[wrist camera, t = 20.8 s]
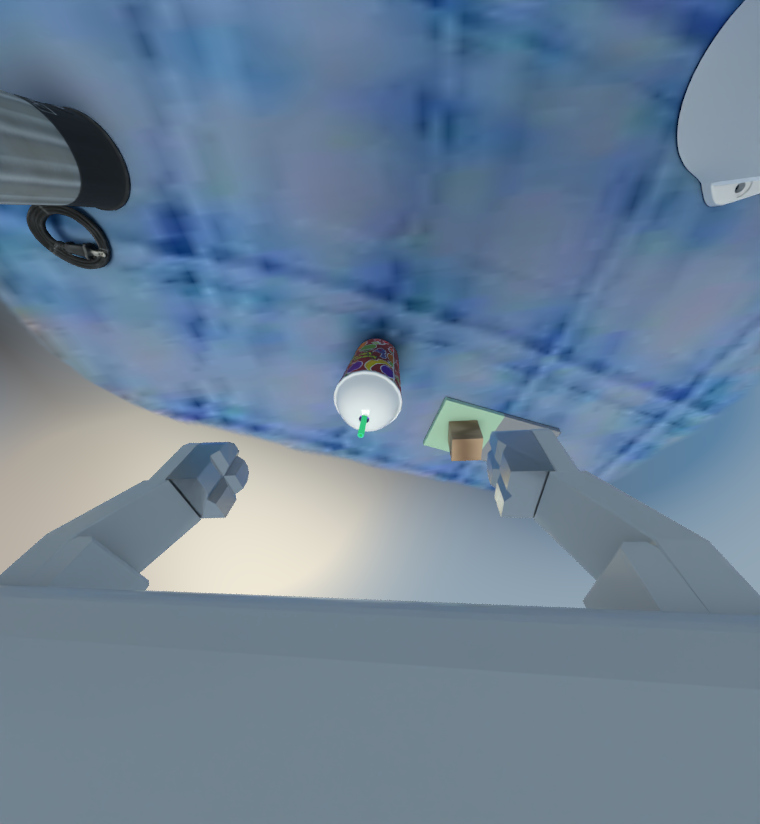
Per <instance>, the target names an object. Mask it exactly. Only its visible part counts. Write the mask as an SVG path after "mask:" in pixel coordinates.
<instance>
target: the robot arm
mask: <svg viewBox="0 0 760 824" xmlns="http://www.w3.org/2000/svg"><path fill="white" fill-rule="evenodd" d="M677 142H678V150H679V154H680V157H681V159H682V162H683V163H684V165H685V167H686V168H687V169H688V170H689V171H690V172H691V173H692V174H693V175H694V176H695V177H696V178H698V180H699V181H700V182H701V184H702V191H703V196H704V200H705V202H706V204H707V205H708V206H711V207H714V206H720V205H725V204H728V203H731V202H735V201H738V200H741V199H744V198H747V197H750V196H754V195H757V194H760V0H745V1H744V2H743V3H742V4H741V5H740V6H739V8H738V9H737V10H736V11H735V12H734V13H733V15H732V16H731V17H730V18H729V20H728V21H727V22H726V23H725V25H724V26H723V27H722V29H721V30H720V31H719V33H718V34H717V36H716V37H715V39H714V40H713V42H712V43H711V45H710V46H709V48H708V49H707V51H706V53H705V54H704V56H703V58H702V60H701V61H700V63H699V65H698V67H697V69H696V71H695V73H694V75H693V77H692V79H691V82H690V84H689V86H688V89H687V92H686V94H685V97H684V100H683V104H682V107H681V111H680V116H679V121H678V130H677ZM738 184H739V187H738V189H737V190H736V191H735V188H736V187H737V185H738ZM489 443H490V446H491V450H490V451H489V452H488V454H487V472H488V477H489V481H490V484H491V485H492V486H493V487H495V488H496V491H495V500H496V503H497V506H498V509H499V512H500V515H501V517H517V518H534V520H535V521H536V522H537V523H538V524H539V525H540V526H541V527H542V528H543V529H544V530H545V531H546V532H547V533H548V534H549V535H550V536H551V537H552V538H553V539H555V541H556V542H557V543H559V544H560V545H561V546H562V547H563V548H564V549H565V550H566V551H567V552H568V553H569V554H570V555H571V556H572V557H573V558H574V559H575V560H576V561H577V562H578V563H579V564H580V565H581V566H582V567H583V568H584V569H585V570H586V571H587V572H588V573H589V574H590V575H591V576H593V577H594V578H595V579H596V580H597V581H596V582H595V584H594V585H593V587H592V588H591V589H590V591H589V592H588V594H587V595H586V597H585V598H584V600H583V602H584V604H585V606H586V608H566V607H541V606H540V607H539V606H516V605H491V604H489V605H488V604H466V603H441V602H439V603H438V602H416V601H392V600H367V599H341V598H340V599H339V598H317V597H292V596H267V595H242V594H241V595H240V594H216V593H192V592H167V591H145V590H146V588H147V587H148V586H149V580H147V579H146V578H145V577H143V576H142V575H141V574H140V572H141V571H142V570H143V569H145V568H146V567H147V566H148V565H149V564H150V563H151V562H153V561H154V560H155V559H156V558H157V557H158V556H160V555H161V554H162V553H163V552H164V551H165V550H167V549H168V548H169V547H170V546H171V545H172V544H173V543H175V542H176V541H177V540H178V539H179V538H180V537H182V536H183V535H184V534H185V533H186V532H187V531H188V530H190V529H191V528H192V527H193V526H194V525H195V524H197V523H198V522H199V521H200V520H201V519H200V518H222V517H223V518H224V517H226V516H227V514H228V513H229V511H230V509H231V508H232V506H233V504H234V503H235V501H236V495H235V494H236V493H238V492H239V491H240V490H242V489H243V488H244V486H245V484H246V482H247V480H248V474H249V471H248V466H247V464H246V462H245V461H244V460H243V459H241V458H240V457H238V453H239V450H238V449H237V447H236V446H235V444H234V443H230V442H218V443H217V442H214V443H189V444H186V445H183V446H182V447H181V448H180V449H179V450H178V451H177V452H176V453H175V454H174V455H173V456H172V457H171V458H170V459H169V460H168V461H167V462H166V463H165V464H164V465H163V466H162V467H161V469H159V470H158V471H157V472H156V473H155V474H154V475H153V476H152V477H151V478H150V479H149V480H147V481H142V482H141V483H139V484H137V485H135V486H133V487H132V488H130V489H128V490H126V491H124V492H122V493H121V494H119V495H117V496H115V497H114V498H112V499H110V500H108V501H106V502H104V503H103V504H101V505H99V506H97V507H95V508H93V509H92V510H90V511H88V512H86V513H85V514H83V515H81V516H79V517H77V518H75V519H74V520H72V521H70V522H68V523H66V524H64V525H62V526H61V527H59V528H57V529H55V530H53V531H52V532H50V533H48V534H46V535H45V536H44V537H43V538H42V539H40V540H39V541H38V542H37V543H36V544H35V545H34V546H33V547H32V548H30V549H29V550H28V551H27V552H26V553H25V554H24V555H22V556H21V557H20V558H19V559H18V560H17V561H15V562H14V563H13V564H12V565H11V566H10V567H9V568H8V569H7V570H5V571H4V572H3V573H2V574H1V575H0V824H760V595H759V594H758V593H757V592H756V591H755V590H754V589H753V588H752V587H751V586H750V585H749V583H748V582H747V581H746V580H745V579H744V578H743V577H742V576H741V575H740V574H739V573H738V572H737V571H736V570H735V568H734V567H733V566H732V565H731V564H730V563H729V562H728V561H727V560H726V559H725V558H724V557H723V556H722V554H720V552H719V551H718V550H717V549H716V548H715V547H714V546H713V545H712V544H711V543H710V542H709V541H708V540H706V539H704V538H703V537H701V536H699V535H698V534H696V533H694V532H692V531H691V530H688V529H687V528H685V527H683V526H682V525H680V524H678V523H677V522H675V521H673V520H671V519H670V518H668V517H666V516H664V515H663V514H661V513H659V512H657V511H656V510H654V509H652V508H650V507H649V506H647V505H645V504H643V503H642V502H640V501H638V500H636V499H635V498H633V497H631V496H629V495H627V494H626V493H624V492H622V491H621V490H619V489H617V488H615V487H614V486H612V485H610V484H608V483H607V482H605V481H603V480H601V479H600V478H598V477H596V476H594V475H593V474H591V473H589V472H587V471H580V470H579V469H578V468H577V466H576V465H575V463H574V462H573V460H572V459H571V457H570V456H569V455H568V453H567V452H566V450H565V449H564V447H563V446H562V445H561V443H560V442H559V440H558V439H557V437H556V436H555V434H554V433H553V432H552V430H550V429H549V428H541V429H529V430H511V431H492V432H491V435H490V440H489Z"/></svg>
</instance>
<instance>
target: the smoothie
mask: <svg viewBox="0 0 760 824" xmlns="http://www.w3.org/2000/svg"><path fill="white" fill-rule="evenodd" d="M334 403H335V406H336V409H337V411H338V412H339V414H340V415H341V417H342V418H343V420H344V421H345V422H346V423H347V424H348V425H349V426H351V427H352V428H354V429H357V430H359V431H358V437H360V438H362V437H363V436H364V432H371V431H376V430H379V429H381V428H384V427H385V426H386V425H388V424H390V423H391V422H392V421H393V420H394V419H396V418H397V416H398V414H399V413H400V411H401V407H402V397H401V385H400V373H399V361H398V355H397V351H396V350H395V348H394V347H393V345H391V344H390V343H389V342H387V341H385V340H382V339H370V340H367V341H365V342H364V343H362V344H361V345H360V346H359V348H358V349H357V351H356V353H355V355H354V356H353V358H352V360H351V362H350V364H349V365H348V367H347V369H346V371H345V373H344V375H343V376H342V378H341V380H340V382H339V383H338V384H337V387H336V389H335V392H334Z"/></svg>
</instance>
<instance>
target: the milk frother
mask: <svg viewBox="0 0 760 824" xmlns="http://www.w3.org/2000/svg"><path fill="white" fill-rule="evenodd" d="M129 191H130V180H129V175H128V171H127V168H126V165H125V162H124V160H123V158H122V156H121V154H120V153H119V150H118V149H117V147H116V146H115V144H114V142H113V141H112V140H111V138H110V137H109V136H108V135H107V133H106V132H105V131H104V130H103V129H102V128H101V127H100V126H99V125H98V124H97V123H96V122H94V121H93V120H92V119H91V118H89V117H88V116H86V115H85V114H83V113H81V112H79V111H77V110H74V109H71V108H67V107H58V106H55V105H51V104H46V103H45V104H43V103H40V102H37V101H33V100H31V99H28V98H25V97H22V96H19V95H15V94H10V93H7V92H4V91H2V90H0V204H15V205H32V206H31V207H30V208H29V210H28V213H27V224H28V227H29V229H30V231H31V232H32V234H33V235H34V236H35V238H36V239H37V240H38V241H39V242H40V243H41V244H42V245H43V246H44V247H46V248H47V249H48V250H49V251H51V252H52V253H53V254H55V255H56V256H58V257H59V258H61V259H63V260H65V261H67V262H68V263H71V264H73V265H75V266H78V267H81V268H86V269H97V268H101V267H104V266H105V265H106V264H107V263H108V261H109V259H110V249H109V245H108V242H107V240H106V238H105V236H104V234H103V232H102V231H101V229H100V228H99V227H98V226H97V225H96V224H95V223H94V222H93V221H92V220H91V219H89V218H88V217H86V216H85V215H84V214H82V213H81V212H79V211H77V210H75V209H73V208H71V207H68V206H82V207H95V208H98V209H101V210H117V209H119V208H121V207H122V206H123V205H124V204H125V203H126V202H127V200H128V197H129ZM53 214H62V215H66V216H68V217H71V218H73V219H74V220H76V221H77V222H79V223H80V224H81V225H83V226H84V227H85V228H86V229H87V230H88V231H89V232H90V233H91V234H92V236H93V237H94V239H95V240H96V243H97V245H98V248H99V249H97V250H96V247H95V245H94V244H92V243H87V244H86V243H84V244H75V243H73V242H66V243H65V242H62V241H56V240H55V239H54V238H53V237H52V236H51V235H50V234H49V233H48V231H47V229H46V225H45V223H46V220H47V218H48V217H49V216H50V215H53ZM72 254H76V255H80V256H85V257H86V259H83V258H80V257H77V256H74V255H72Z"/></svg>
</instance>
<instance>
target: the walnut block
mask: <svg viewBox="0 0 760 824" xmlns="http://www.w3.org/2000/svg"><path fill="white" fill-rule="evenodd" d="M448 444H449V450H450V455H451V461H466V460H481V455H482V446H483V436H482V433H481V430H480V427H479V424H478V421H477V420H467V421H449V426H448Z"/></svg>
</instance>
